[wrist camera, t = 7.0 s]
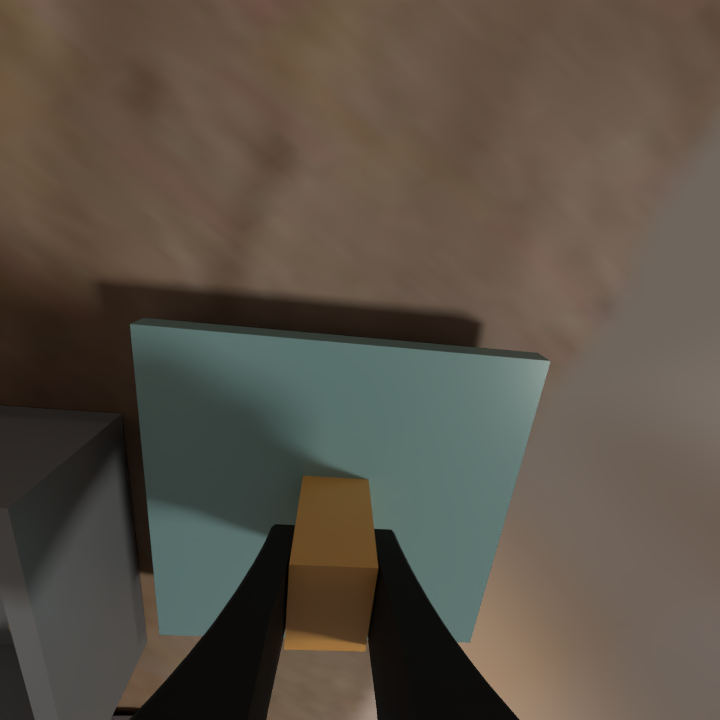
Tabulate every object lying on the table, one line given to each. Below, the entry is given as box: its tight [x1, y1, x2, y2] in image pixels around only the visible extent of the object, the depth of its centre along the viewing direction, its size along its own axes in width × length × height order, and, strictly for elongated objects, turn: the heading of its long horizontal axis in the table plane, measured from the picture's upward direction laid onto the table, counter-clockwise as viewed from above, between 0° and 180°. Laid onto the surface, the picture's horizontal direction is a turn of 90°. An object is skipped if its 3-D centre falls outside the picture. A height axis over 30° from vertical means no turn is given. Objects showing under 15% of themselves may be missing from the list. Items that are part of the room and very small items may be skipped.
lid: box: [130, 318, 550, 651], centre depth 12 cm, size 12×12×5 cm
